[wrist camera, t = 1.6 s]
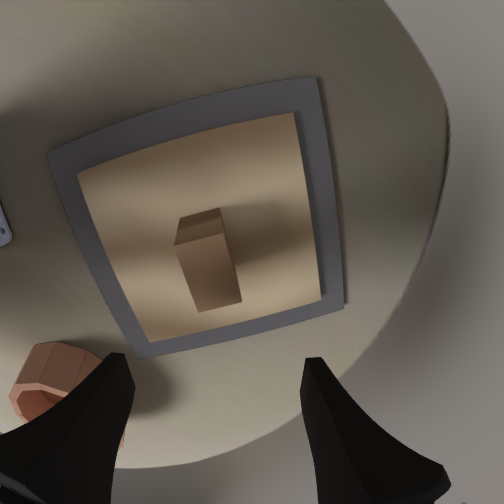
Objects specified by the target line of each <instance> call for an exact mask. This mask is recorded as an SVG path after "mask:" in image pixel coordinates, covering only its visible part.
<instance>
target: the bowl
mask: <svg viewBox="0 0 504 504" xmlns="http://www.w3.org/2000/svg"><path fill="white" fill-rule="evenodd" d="M102 361H103V360H101V359H100V358H98V357H97V356H95V355H94V354H92V353H91V352H89V351H88V350H85V349H82V348H78V347H74V346H71V345H68V344H64V343H61V342H58V341H55V342H50V343H44V344H38V345H34V347H33V349H32V350H31V352H30V354H29V355H28V357H27V358H26V360H25V362H24V364H23V366H22V368H21V370H20V372H19V374H18V377H17V379H16V381H15V383H14V385H13V387H12V389H11V392H10V394H9V399H10V401H11V404H12V406H13V408H14V410H15V413H16V414H17V415H18V416H19V417H20V418H21V419H22V420H23V421H24V422H25V423H28V422H29V421H31V420H33V419H34V418H36V417H38V416H39V415H41V414H43V413H44V412H46V411H47V410H48V409H50V408H51V407H53V406H54V405H55V404H57V403H58V402H59V401H60V400H62V399H63V398H64V397H65V396H66V395H67V394H68V393H70V392H71V391H72V390H73V389H74V388H75V387H76V386H77V385H79V384H80V383H81V382H82V381H83V380H84V379H85V378H86V377H87V376H88V375H89V374H90V373H91V372H92V371H93V370H94V369H95V368H96V367H97V366H98V365H99V364H100V363H101V362H102ZM124 435H125V430H124V433H123V436H122V439H121V442H120V445H119V448H118V449H120V448H122V447H123V443H124Z"/></svg>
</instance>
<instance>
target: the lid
mask: <svg viewBox="0 0 504 504" xmlns="http://www.w3.org/2000/svg"><path fill="white" fill-rule="evenodd" d="M77 177H78V180H79V183H80V186H81V189H82V192H83V195H84V198H85V200H86V203H87V206H88V209H89V211H90V214H91V217H92V219H93V222H94V225H95V227H96V230H97V232H98V235H99V237H100V240H101V242H102V245H103V247H104V249H105V252H106V254H107V256H108V259H109V261H110V263H111V266H112V268H113V270H114V272H115V274H116V277H117V279H118V281H119V283H120V285H121V287H122V289H123V292H124V294H125V296H126V298H127V300H128V302H129V304H130V306H131V308H132V310H133V312H134V314H135V316H136V318H137V320H138V322H139V324H140V325H141V327H142V329H143V331H144V333H145V335H146V337H147V339H148V340H149V342H155V341H160V340H165V339H170V338H175V337H179V336H184V335H188V334H193V333H197V332H202V331H206V330H210V329H215V328H219V327H223V326H227V325H231V324H235V323H239V322H243V321H247V320H251V319H255V318H259V317H263V316H267V315H270V314H274V313H278V312H281V311H285V310H289V309H292V308H296V307H299V306H303V305H306V304H310V303H313V302H317V301H320V300H321V293H320V284H319V275H318V266H317V258H316V250H315V242H314V235H313V228H312V220H311V213H310V207H309V200H308V194H307V187H306V181H305V175H304V169H303V163H302V157H301V152H300V146H299V141H298V135H297V130H296V125H295V120H294V114H293V112H290V113H284V114H278V115H273V116H268V117H263V118H258V119H253V120H248V121H243V122H239V123H234V124H230V125H226V126H222V127H217V128H213V129H209V130H205V131H202V132H198V133H194V134H190V135H187V136H183V137H180V138H176V139H173V140H170V141H166V142H163V143H160V144H156V145H153V146H150V147H147V148H144V149H141V150H138V151H135V152H132V153H129V154H126V155H123V156H121V157H118V158H115V159H112V160H109V161H107V162H104V163H101V164H99V165H96V166H94V167H91V168H89V169H86V170H84V171H81V172H79V173H77Z"/></svg>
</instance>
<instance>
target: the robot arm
mask: <svg viewBox="0 0 504 504" xmlns="http://www.w3.org/2000/svg"><path fill="white" fill-rule="evenodd" d="M3 228H4V230H5V232H4V231H3ZM11 240H12V233H11V231H10V229H9V226H8V224H7V221H6V219H5V216H4V213H3V211H2V208H1V205H0V246H3V245H5V244H7V243H9V242H10V241H11ZM134 392H135V385H134V382H133V379H132V376H131V373H130V370H129V367H128V364H127V361H126V358H125V354H122V353H113V352H111V353H110V354H109V355H108V356H107V357H106V358H105V359H104V360H103V361H102V362H101V363H100V364H99V365H98V366H97V367H96V368H95V369H94V370H93V371H92V372H91V373H90V374H89V375H88V376H87V377H86V378H85V379H84V380H83V381H82V382H81V383H80V384H79V385H77V386H76V387H75V388H74V389H73V390H72V391H71V392H70V393H68V394H67V395H66V396H65V397H64V398H63V399H62V400H60V401H59V402H58V403H57V404H55V405H54V406H53V407H51V408H50V409H48V410H47V411H46V412H44V413H43V414H41V415H39V416H38V417H36V418H34V419H33V420H31V421H29V422H28V423H26V424H24V425H22V426H20V427H18V428H16V429H14V430H12V431H9V432H7V433H5V434H2V435H0V485H1V487H0V504H111V490H112V481H113V473H114V467H115V461H116V456H117V452H118V448H119V445H120V442H121V439H122V436H123V433H124V430H125V427H126V423H127V420H128V417H129V414H130V411H131V408H132V403H133V398H134ZM300 398H301V407H302V415H303V418H304V423H305V427H306V431H307V435H308V439H309V443H310V448H311V452H312V456H313V461H314V466H315V474H316V483H317V492H318V504H434V502H435V501H436V500H437V499H438V498H440V497H441V496H442V495H443V494H445V493H446V492H447V491H448V490H449V488H450V486H451V482H450V480H449V478H448V475H447V473H446V471H445V469H444V467H443V466H442V465H441V464H439V463H436V462H434V461H432V460H430V459H428V458H426V457H424V456H422V455H420V454H418V453H417V452H415V451H413V450H412V449H410V448H408V447H407V446H405V445H404V444H402V443H401V442H400V441H398V440H397V439H395V438H394V437H392V436H391V435H390V434H389V433H387V432H386V431H385V430H384V429H382V428H381V427H380V426H379V425H378V424H377V423H376V422H375V421H373V420H372V419H371V418H370V417H369V416H368V415H367V414H366V413H365V412H364V411H363V410H362V409H361V408H360V406H359V405H358V404H357V403H356V402H355V401H354V400H353V399H352V397H351V396H350V395H349V394H348V393H347V391H346V390H345V389H344V388H343V386H342V385H341V384H340V382H339V381H338V380H337V378H336V377H335V376H334V374H333V373H332V372H331V370H330V369H329V367H328V366H327V364H326V363H325V361H324V360H323V359H322V358H321V357H314V358H306V359H305V365H304V371H303V376H302V382H301V387H300ZM462 504H466V503H462Z"/></svg>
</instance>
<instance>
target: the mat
mask: <svg viewBox="0 0 504 504" xmlns="http://www.w3.org/2000/svg"><path fill="white" fill-rule="evenodd" d="M290 112H293V114H294V120H295V125H296V130H297V135H298V141H299V146H300V152H301V157H302V163H303V169H304V175H305V181H306V187H307V194H308V200H309V207H310V213H311V220H312V228H313V235H314V242H315V250H316V258H317V266H318V275H319V284H320V293H321V300H320V301H317V302H313V303H310V304H306V305H303V306H299V307H296V308H292V309H289V310H285V311H281V312H278V313H274V314H270V315H267V316H263V317H259V318H255V319H251V320H247V321H243V322H239V323H235V324H231V325H227V326H223V327H219V328H215V329H210V330H206V331H202V332H197V333H193V334H188V335H184V336H179V337H175V338H170V339H165V340H160V341H155V342H149V340H148V339H147V337H146V335H145V333H144V331H143V329H142V327H141V325H140V324H139V322H138V320H137V318H136V316H135V314H134V312H133V310H132V308H131V306H130V304H129V302H128V300H127V298H126V296H125V294H124V292H123V289H122V287H121V285H120V283H119V281H118V279H117V277H116V274H115V272H114V270H113V268H112V266H111V263H110V261H109V259H108V256H107V254H106V252H105V249H104V247H103V245H102V242H101V240H100V237H99V235H98V232H97V230H96V227H95V225H94V222H93V219H92V217H91V214H90V211H89V209H88V206H87V203H86V200H85V198H84V195H83V192H82V189H81V186H80V183H79V180H78V177H77V173H79V172H81V171H84V170H86V169H89V168H91V167H94V166H96V165H99V164H101V163H104V162H107V161H109V160H112V159H115V158H118V157H121V156H123V155H126V154H129V153H132V152H135V151H138V150H141V149H144V148H147V147H150V146H153V145H156V144H160V143H163V142H166V141H170V140H173V139H176V138H180V137H183V136H187V135H190V134H194V133H198V132H202V131H205V130H209V129H213V128H217V127H222V126H226V125H230V124H234V123H239V122H243V121H248V120H253V119H258V118H263V117H268V116H273V115H278V114H284V113H290ZM46 156H47V159H48V162H49V166H50V169H51V172H52V175H53V178H54V181H55V184H56V187H57V190H58V193H59V196H60V198H61V201H62V204H63V207H64V209H65V212H66V215H67V217H68V220H69V222H70V225H71V227H72V230H73V232H74V235H75V237H76V240H77V242H78V244H79V247H80V249H81V251H82V253H83V256H84V258H85V260H86V262H87V265H88V267H89V269H90V271H91V273H92V275H93V277H94V279H95V281H96V283H97V286H98V288H99V290H100V292H101V294H102V295H103V297H104V299H105V301H106V303H107V305H108V307H109V309H110V311H111V313H112V315H113V316H114V318H115V320H116V322H117V324H118V325H119V327H120V329H121V331H122V333H123V334H124V336H125V338H126V339H127V341H128V343H129V345H130V346H131V348H132V350H133V351H134V353H135V355H136V356H137V358H138V359H144V358H149V357H155V356H160V355H165V354H170V353H175V352H180V351H185V350H190V349H195V348H199V347H204V346H208V345H213V344H217V343H221V342H226V341H230V340H234V339H238V338H242V337H246V336H250V335H254V334H258V333H262V332H266V331H270V330H273V329H277V328H281V327H284V326H288V325H292V324H295V323H299V322H302V321H306V320H309V319H312V318H316V317H319V316H322V315H326V314H329V313H332V312H335V311H339V310H342V309H344V292H343V275H342V260H341V248H340V236H339V225H338V216H337V206H336V198H335V189H334V182H333V174H332V167H331V160H330V153H329V146H328V140H327V134H326V128H325V122H324V116H323V111H322V105H321V100H320V95H319V90H318V85H317V80H316V76H313V77H304V78H296V79H289V80H282V81H275V82H269V83H263V84H258V85H252V86H247V87H242V88H237V89H232V90H227V91H223V92H219V93H214V94H210V95H206V96H202V97H198V98H194V99H190V100H187V101H183V102H180V103H176V104H173V105H169V106H166V107H163V108H159V109H156V110H153V111H150V112H147V113H144V114H141V115H138V116H135V117H132V118H129V119H126V120H124V121H121V122H118V123H115V124H113V125H110V126H108V127H105V128H103V129H100V130H98V131H95V132H93V133H90V134H88V135H85V136H83V137H81V138H78V139H76V140H74V141H72V142H69V143H67V144H65V145H63V146H61V147H59V148H57V149H54V150H52V151H50V152H48V153H46Z"/></svg>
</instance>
